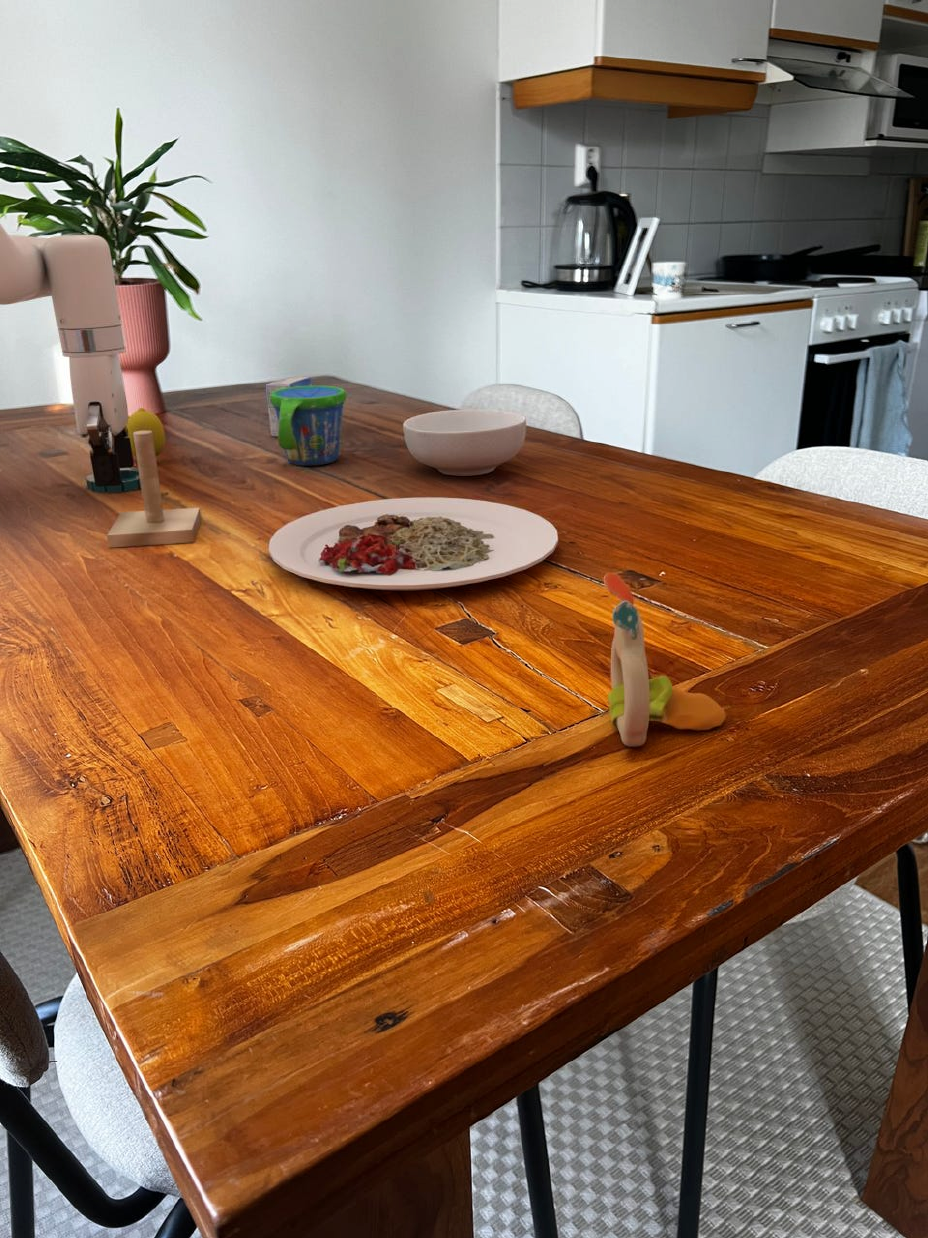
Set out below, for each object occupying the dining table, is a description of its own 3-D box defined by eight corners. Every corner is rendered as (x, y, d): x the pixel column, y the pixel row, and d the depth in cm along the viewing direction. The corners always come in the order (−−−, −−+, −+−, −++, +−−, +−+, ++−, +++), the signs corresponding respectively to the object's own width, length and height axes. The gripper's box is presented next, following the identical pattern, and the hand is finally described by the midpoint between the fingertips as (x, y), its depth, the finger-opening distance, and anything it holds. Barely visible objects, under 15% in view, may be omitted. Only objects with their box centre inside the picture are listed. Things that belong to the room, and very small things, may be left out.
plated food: (587, 524, 110) (588, 495, 108) (507, 620, 84) (507, 584, 82) (349, 504, 119) (347, 477, 118) (212, 585, 93) (207, 552, 92)
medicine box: (294, 438, 157) (289, 384, 154) (270, 437, 158) (265, 383, 155) (316, 428, 164) (312, 376, 160) (292, 427, 165) (287, 375, 162)
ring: (82, 494, 126) (80, 484, 125) (94, 479, 134) (92, 469, 133) (147, 490, 127) (145, 480, 127) (155, 476, 135) (154, 466, 134)
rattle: (721, 771, 60) (738, 600, 56) (591, 755, 62) (597, 589, 58) (725, 716, 67) (740, 559, 63) (607, 703, 69) (613, 551, 65)
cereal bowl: (483, 450, 146) (482, 403, 143) (550, 472, 133) (550, 420, 130) (383, 466, 137) (381, 416, 135) (445, 491, 124) (443, 436, 122)
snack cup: (315, 476, 133) (309, 401, 129) (251, 470, 137) (244, 397, 133) (371, 453, 146) (367, 384, 142) (311, 447, 150) (306, 381, 146)
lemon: (122, 466, 141) (113, 410, 138) (142, 457, 146) (134, 404, 143) (156, 467, 139) (148, 411, 136) (175, 459, 144) (168, 405, 141)
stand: (109, 547, 105) (91, 442, 100) (122, 524, 113) (107, 426, 109) (193, 542, 106) (180, 438, 102) (201, 519, 114) (189, 422, 110)
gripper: (76, 335, 127) (98, 463, 134) (44, 351, 112) (71, 495, 118) (134, 332, 128) (154, 459, 135) (111, 348, 113) (135, 491, 119)
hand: (115, 476), depth 126 cm, fingers open, 9 cm apart
